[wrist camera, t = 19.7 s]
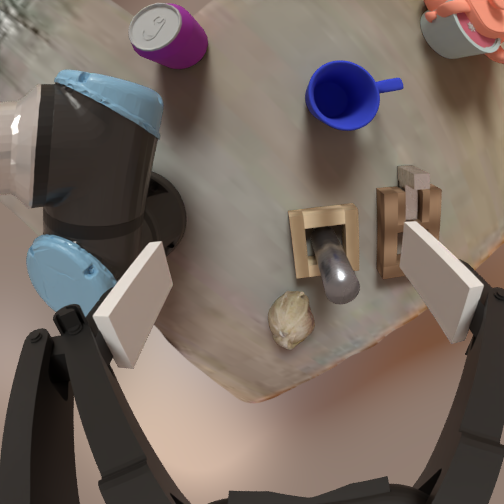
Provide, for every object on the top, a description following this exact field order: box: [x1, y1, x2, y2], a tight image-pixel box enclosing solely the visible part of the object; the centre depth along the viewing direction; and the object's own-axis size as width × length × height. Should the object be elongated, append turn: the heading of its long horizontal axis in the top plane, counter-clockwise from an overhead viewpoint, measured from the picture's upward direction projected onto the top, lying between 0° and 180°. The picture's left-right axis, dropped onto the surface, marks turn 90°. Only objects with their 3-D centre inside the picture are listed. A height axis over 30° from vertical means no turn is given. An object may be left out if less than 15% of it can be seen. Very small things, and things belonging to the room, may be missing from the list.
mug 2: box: [420, 0, 501, 59], centre depth 24 cm, size 14×9×10 cm
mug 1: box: [305, 61, 403, 131], centre depth 32 cm, size 8×12×10 cm
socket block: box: [376, 184, 442, 279], centre depth 42 cm, size 14×10×4 cm
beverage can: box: [129, 3, 208, 69], centre depth 29 cm, size 8×8×12 cm
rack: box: [288, 203, 359, 278], centre depth 44 cm, size 10×10×3 cm
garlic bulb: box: [268, 291, 315, 350], centre depth 48 cm, size 9×8×10 cm
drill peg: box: [311, 226, 360, 304], centre depth 39 cm, size 4×4×15 cm
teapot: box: [424, 0, 504, 64], centre depth 21 cm, size 16×17×14 cm
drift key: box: [397, 165, 430, 220], centre depth 38 cm, size 8×3×6 cm, turn 10°
